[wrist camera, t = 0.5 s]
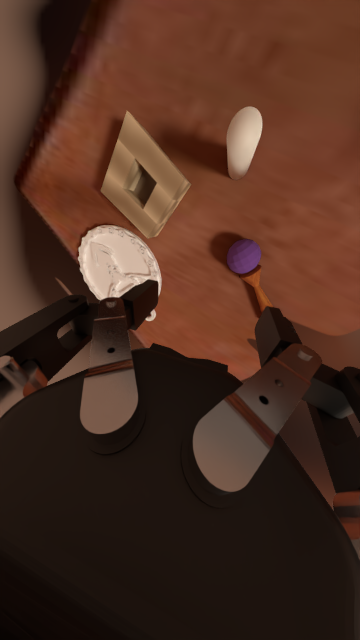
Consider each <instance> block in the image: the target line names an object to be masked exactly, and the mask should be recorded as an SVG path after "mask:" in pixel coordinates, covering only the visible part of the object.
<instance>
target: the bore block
mask: <svg viewBox="0 0 360 640" xmlns="http://www.w3.org/2000/svg"><path fill="white" fill-rule="evenodd" d="M190 186H191V184H190V182H189V181H188V180H187V179H186V178H185V176H184V175H183V174H182V173H181V172H180V170H179V169H178V168H177V167H176V166H175V164H174V163H173V162H172V161H171V160H170V158H169V157H168V156H167V155H166V154H165V152H164V151H163V150H162V149H161V148H160V146H159V145H158V144H157V143H156V142H155V140H154V139H153V138H152V137H151V136H150V134H149V133H148V132H147V131H146V130H145V128H144V127H143V126H142V125H141V124H140V123H139V122H138V121H137V120H136V119H135V118H134V117H133V116H132V115H131V114H130V113H129V112H128V111H127V113H126V116H125V119H124V122H123V125H122V128H121V131H120V134H119V137H118V140H117V143H116V146H115V149H114V152H113V155H112V158H111V161H110V164H109V167H108V170H107V173H106V176H105V179H104V182H103V185H102V188H101V192H102V193H103V194H104V195H105V196H106V197H107V198H108V199H109V200H110V201H111V202H112V203H113V204H114V205H115V206H116V207H117V208H118V209H119V210H120V211H121V212H122V213H123V214H124V215H125V216H126V217H127V218H128V219H129V220H130V221H131V222H132V223H133V224H134V225H135V226H136V227H137V228H138V229H139V230H140V231H141V232H142V233H143V234H144V235H145V236H146V237H147V238H151V237H155V236H158V234H159V233H160V231H161V230H162V228H163V227H164V225H165V224H166V222H167V221H168V219H169V218H170V216H171V215H172V213H173V212H174V210H175V209H176V207H177V205H178V204H179V202H180V201H181V199H182V198H183V196H184V195H185V193H186V192H187V190H188V189H189V187H190Z"/></svg>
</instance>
